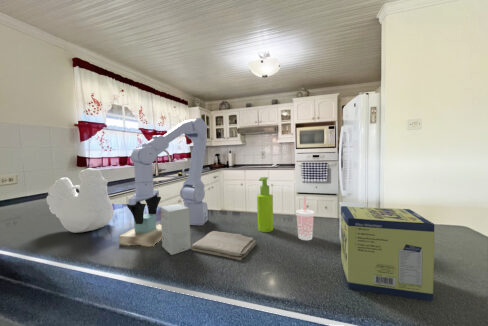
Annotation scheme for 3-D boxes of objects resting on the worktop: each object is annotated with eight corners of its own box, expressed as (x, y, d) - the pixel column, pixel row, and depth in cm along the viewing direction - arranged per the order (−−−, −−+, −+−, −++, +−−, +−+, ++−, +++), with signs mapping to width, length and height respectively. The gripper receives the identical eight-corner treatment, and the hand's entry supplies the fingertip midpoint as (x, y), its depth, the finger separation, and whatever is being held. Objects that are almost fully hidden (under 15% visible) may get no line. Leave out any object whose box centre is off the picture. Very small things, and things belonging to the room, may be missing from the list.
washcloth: (243, 262, 58) (243, 251, 58) (189, 252, 65) (189, 242, 65) (257, 245, 69) (257, 235, 69) (210, 237, 76) (209, 229, 76)
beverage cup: (317, 237, 73) (317, 196, 73) (309, 242, 69) (309, 199, 68) (301, 232, 77) (300, 194, 77) (292, 238, 73) (292, 197, 72)
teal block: (156, 227, 78) (155, 214, 77) (148, 232, 73) (147, 218, 72) (143, 227, 78) (142, 213, 78) (134, 232, 73) (133, 218, 73)
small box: (191, 249, 66) (189, 207, 66) (171, 255, 62) (169, 211, 62) (180, 241, 73) (179, 203, 72) (161, 246, 69) (159, 206, 68)
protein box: (339, 264, 56) (339, 205, 55) (410, 272, 51) (411, 208, 50) (346, 289, 46) (346, 217, 45) (435, 302, 41) (437, 223, 40)
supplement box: (363, 240, 69) (364, 202, 69) (368, 251, 62) (369, 208, 62) (338, 238, 72) (338, 201, 71) (341, 248, 65) (341, 206, 64)
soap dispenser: (254, 232, 79) (253, 178, 78) (260, 225, 86) (259, 176, 84) (270, 234, 77) (269, 178, 76) (274, 227, 83) (274, 176, 82)
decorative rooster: (123, 224, 92) (120, 166, 91) (88, 238, 77) (84, 169, 75) (79, 220, 98) (75, 166, 97) (38, 233, 83) (33, 169, 82)
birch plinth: (171, 232, 81) (170, 224, 80) (152, 246, 69) (152, 237, 69) (142, 231, 82) (141, 223, 82) (119, 245, 71) (118, 236, 70)
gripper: (146, 179, 82) (148, 213, 83) (118, 185, 68) (121, 227, 69) (163, 179, 81) (164, 214, 82) (138, 185, 67) (141, 227, 68)
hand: (146, 220), depth 75 cm, fingers open, 7 cm apart
